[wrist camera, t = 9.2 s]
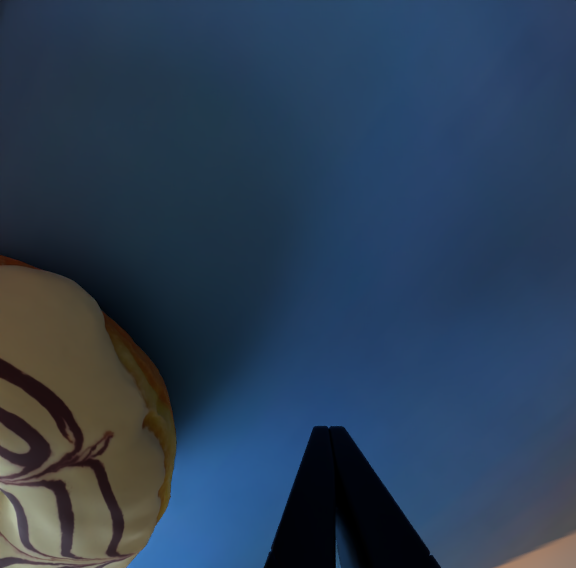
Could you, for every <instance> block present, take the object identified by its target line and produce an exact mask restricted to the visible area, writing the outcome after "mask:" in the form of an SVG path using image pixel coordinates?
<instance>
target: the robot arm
mask: <svg viewBox="0 0 576 568" xmlns="http://www.w3.org/2000/svg"><path fill="white" fill-rule="evenodd" d="M336 544H337V549H338V555H339V561H340V566H341V568H441V567H440V565H439V564H438V562H437V561H436V559H435V558H434V557H433V555H430V551H429V550H428V548H427V547H426V545H425V544H424V542H423V541H422V539H421V538H420V536H419V535H418V534H417V532H416V531H415V529H414V528H413V526H412V525H411V523H410V522H409V521H408V519H407V518H406V516H405V515H404V513H403V512H402V510H401V509H400V507H399V506H398V505H397V503H396V502H395V500H394V499H393V497H392V496H391V494H390V493H389V492H388V490H387V489H386V487H385V486H384V484H383V483H382V481H381V480H380V478H379V477H378V476H377V474H376V473H375V471H374V470H373V468H372V467H371V465H370V464H369V462H368V461H367V460H366V458H365V457H364V455H363V454H362V452H361V451H360V449H359V448H358V447H357V445H356V444H355V442H354V441H353V439H352V438H351V436H350V435H349V433H348V432H347V431H346V429H345V428H344V427H342V426H330V427H329V428H328V427H327V426H314V427H313V430H312V433H311V435H310V438H309V441H308V444H307V447H306V450H305V453H304V455H303V458H302V461H301V464H300V467H299V470H298V472H297V475H296V478H295V481H294V484H293V487H292V489H291V492H290V495H289V498H288V501H287V504H286V507H285V509H284V512H283V515H282V518H281V521H280V524H279V526H278V529H277V532H276V535H275V538H274V541H273V544H272V546H271V551H270V552H269V554H268V557H267V560H266V563H265V566H264V568H336ZM429 555H430V556H429Z"/></svg>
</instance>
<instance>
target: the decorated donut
mask: <svg viewBox="0 0 576 568" xmlns="http://www.w3.org/2000/svg"><path fill="white" fill-rule="evenodd" d="M176 444H177V441H176V429H175V425H174V420H173V411H172V408H171V404H170V399H169V395H168V392H167V389H166V385H165V383H164V380H163V378H162V376H161V375H160V373H159V370H158V369H157V368H156V366H155V365H154V363H153V362H152V361H151V359H150V358H149V357H148V355H147V354H146V353H145V352H144V351H143V350H142V349H141V348H140V347H139V346H138V345H136V344H135V343H134V341H133V339H132V338H131V337H130V335H129V334H128V333H127V332H126V331H125V330H124V329H122V328H121V327H120V326H119V325H118V324H117V323H116V322H115V321H114V320H112V319H111V318H110V317H109V316H108V315H106V314H105V313H104V312H103V311H102V310H101V309H100V307H99V305H98V304H97V302H96V300H95V299H94V298H93V297H92V296H91V295H89V294H88V293H87V292H86V291H85V290H84V289H83V288H82V287H81V286H79V285H78V284H77V283H76V282H75V281H73V280H71V279H69V278H66V277H64V276H61V275H58V274H55V273H52V272H48V271H44V270H41V269H39V268H36V267H34V266H32V265H29V264H27V263H24V262H22V261H19V260H15V259H12V258H9V257H6V256H3V255H0V568H126V567H127V566H128V565H129V564H130V562H131V561H132V560H133V559H134V558H135V557H136V555H137V554H138V553H139V552H140V551H141V550H142V549H143V548H144V547H145V546H146V545H147V543H148V540H149V538H150V536H151V534H152V533H153V531H154V528H155V526H156V524H157V523H158V522H159V520H160V519H161V517H162V515H163V514H164V512H165V510H166V508H167V506H168V503H169V499H170V497H171V496H170V492H171V490H170V489H171V479H172V472H173V469H174V459H175V455H176Z"/></svg>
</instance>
